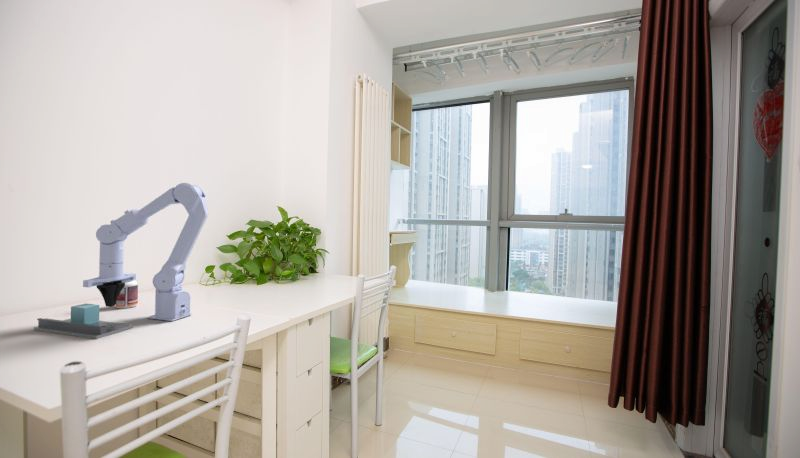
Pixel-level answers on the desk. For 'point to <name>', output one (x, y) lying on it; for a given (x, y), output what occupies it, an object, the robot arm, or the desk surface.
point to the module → (85, 313)
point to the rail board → (102, 323)
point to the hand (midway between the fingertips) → (110, 306)
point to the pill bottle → (128, 295)
